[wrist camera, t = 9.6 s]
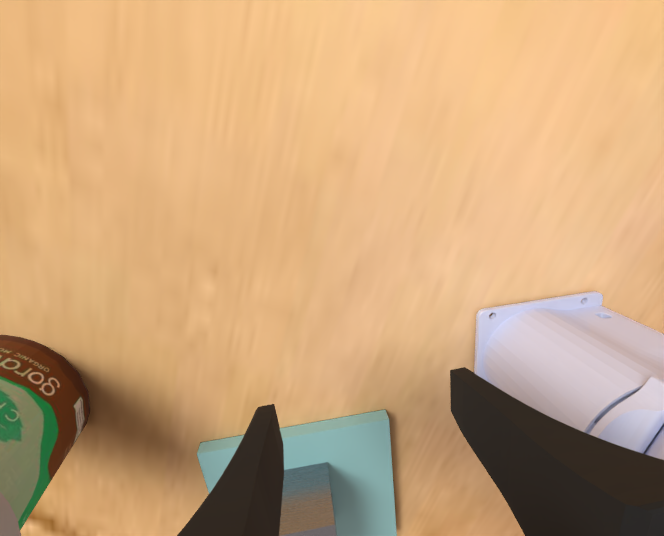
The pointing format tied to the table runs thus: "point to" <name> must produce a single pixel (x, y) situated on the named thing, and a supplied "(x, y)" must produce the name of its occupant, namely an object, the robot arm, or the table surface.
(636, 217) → the table surface
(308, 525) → the block
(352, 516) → the teal board
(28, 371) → the food container
